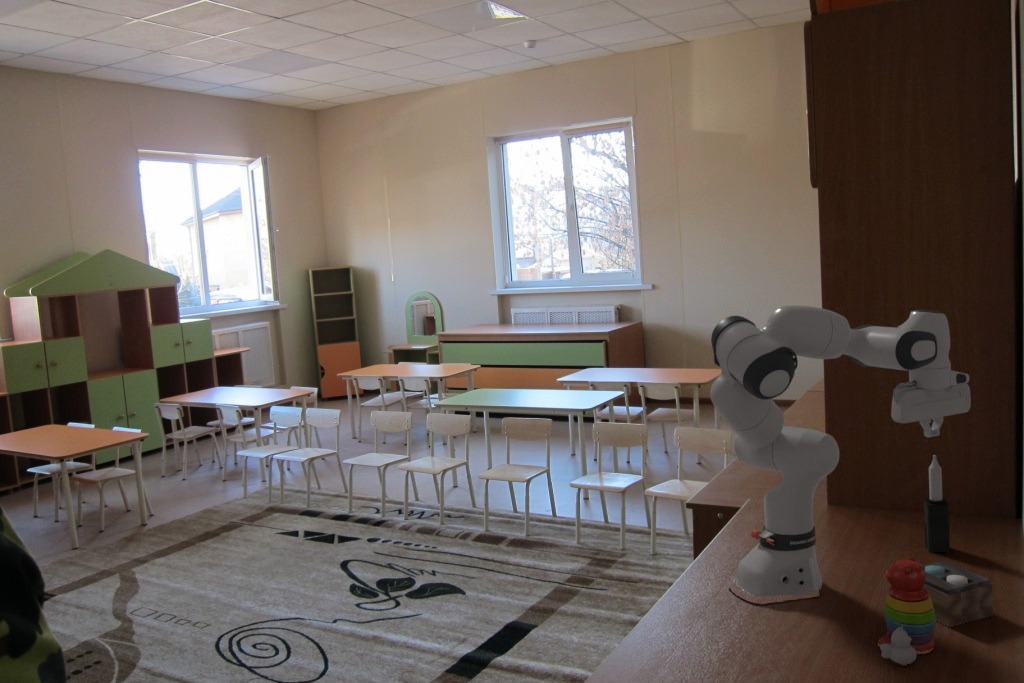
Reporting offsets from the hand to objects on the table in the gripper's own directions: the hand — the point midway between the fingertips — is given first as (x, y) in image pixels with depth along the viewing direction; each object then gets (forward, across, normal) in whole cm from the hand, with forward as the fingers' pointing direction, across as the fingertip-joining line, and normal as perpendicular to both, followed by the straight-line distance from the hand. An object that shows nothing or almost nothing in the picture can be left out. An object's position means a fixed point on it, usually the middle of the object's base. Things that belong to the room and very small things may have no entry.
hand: (931, 436), depth 202 cm
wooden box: (+34, -12, -15) cm, 39 cm away
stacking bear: (+34, -30, -24) cm, 52 cm away
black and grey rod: (+34, +12, +12) cm, 38 cm away
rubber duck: (+34, -37, -29) cm, 58 cm away
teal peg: (+34, -12, -12) cm, 38 cm away
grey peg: (+34, -12, -18) cm, 40 cm away
